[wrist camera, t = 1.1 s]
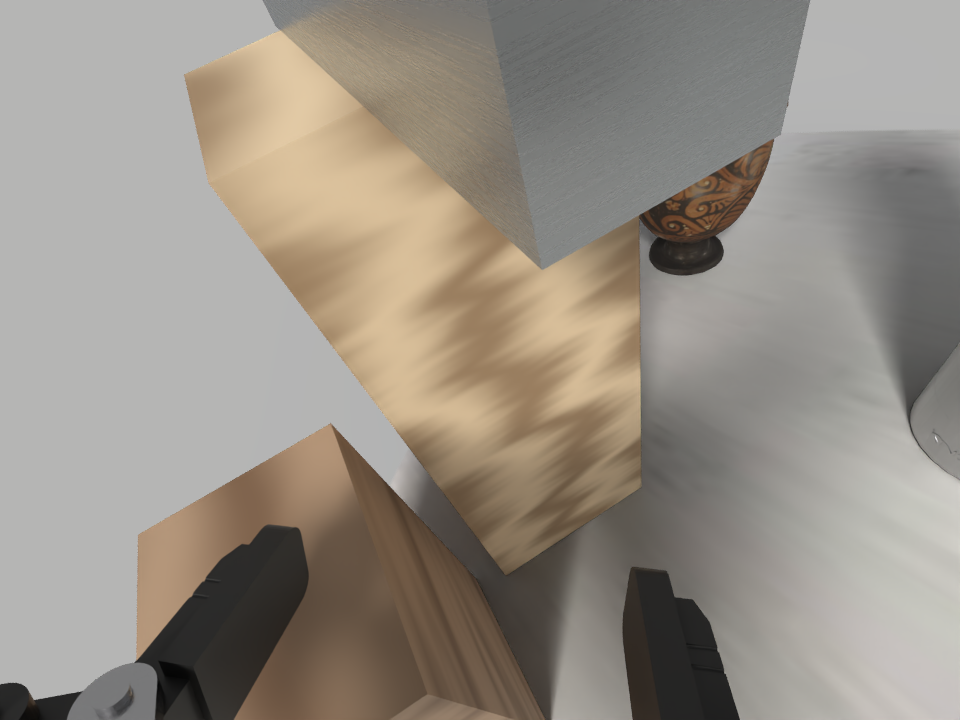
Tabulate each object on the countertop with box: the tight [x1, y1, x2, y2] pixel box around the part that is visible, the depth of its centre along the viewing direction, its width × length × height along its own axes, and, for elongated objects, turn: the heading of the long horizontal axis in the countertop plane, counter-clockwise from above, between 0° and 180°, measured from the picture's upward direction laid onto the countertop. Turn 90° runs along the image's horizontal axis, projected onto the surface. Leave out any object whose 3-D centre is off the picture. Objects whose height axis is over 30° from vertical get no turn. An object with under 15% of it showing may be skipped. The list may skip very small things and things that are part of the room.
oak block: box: [184, 30, 641, 575], centre depth 27 cm, size 12×11×32 cm
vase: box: [639, 103, 788, 275], centre depth 39 cm, size 12×12×30 cm
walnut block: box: [136, 424, 545, 720], centre depth 23 cm, size 8×10×22 cm
